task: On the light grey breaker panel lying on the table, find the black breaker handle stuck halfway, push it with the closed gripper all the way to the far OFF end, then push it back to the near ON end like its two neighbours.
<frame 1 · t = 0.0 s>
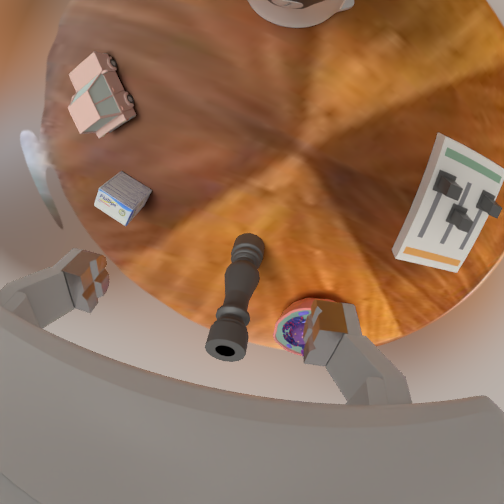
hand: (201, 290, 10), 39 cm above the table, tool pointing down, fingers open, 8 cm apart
breaker 2: (490, 206, 37), point 5 cm above the table, slide at 0.0 cm
breaker panel: (449, 206, 44), on the table
breaker tripped: (461, 220, 40), point 5 cm above the table, slide at 5.0 cm
candle holder: (249, 245, 57), on the table
medicine box: (134, 187, 52), on the table
breaker 1: (449, 187, 37), point 5 cm above the table, slide at 0.0 cm
cell model: (314, 309, 66), on the table
toy car: (111, 90, 40), on the table
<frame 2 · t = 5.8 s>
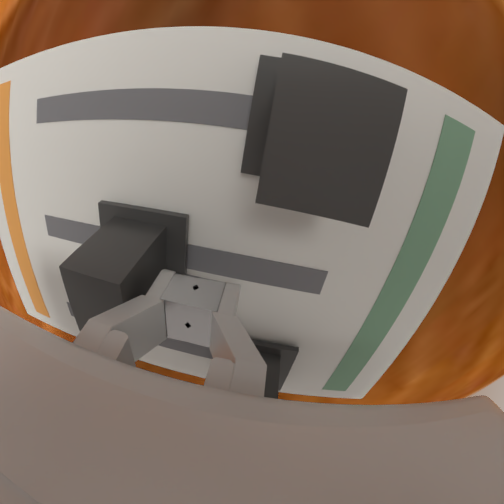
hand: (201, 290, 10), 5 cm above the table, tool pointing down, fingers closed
breaker 2: (248, 393, 13), point 5 cm above the table, slide at 0.0 cm
breaker panel: (182, 220, 14), on the table
breaker tripped: (121, 276, 10), point 5 cm above the table, slide at 5.7 cm, touching gripper
breaker 1: (320, 131, 6), point 5 cm above the table, slide at 0.0 cm
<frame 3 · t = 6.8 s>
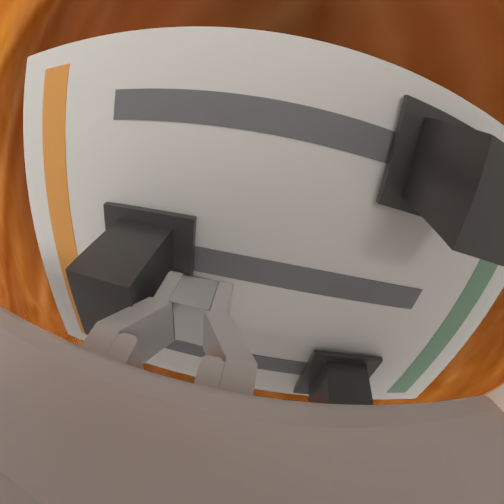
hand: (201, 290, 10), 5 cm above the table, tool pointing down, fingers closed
breaker 2: (338, 404, 13), point 5 cm above the table, slide at 0.0 cm
breaker panel: (275, 238, 14), on the table
breaker tripped: (128, 279, 10), point 5 cm above the table, slide at 10.2 cm, touching gripper
breaker 1: (465, 182, 6), point 5 cm above the table, slide at 0.0 cm
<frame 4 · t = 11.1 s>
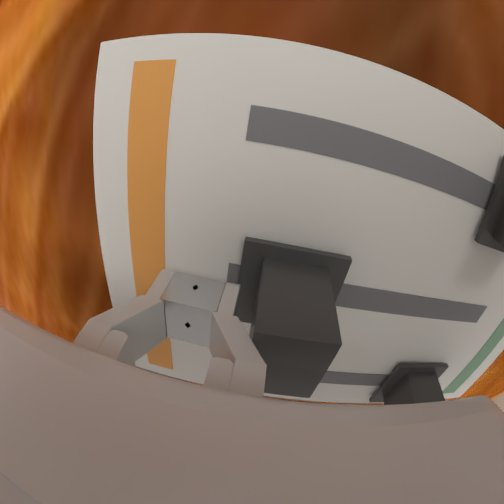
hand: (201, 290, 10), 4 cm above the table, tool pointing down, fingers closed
breaker 2: (415, 408, 12), point 5 cm above the table, slide at 0.0 cm
breaker panel: (370, 264, 14), on the table
breaker tripped: (287, 324, 9), point 5 cm above the table, slide at 9.5 cm, touching gripper
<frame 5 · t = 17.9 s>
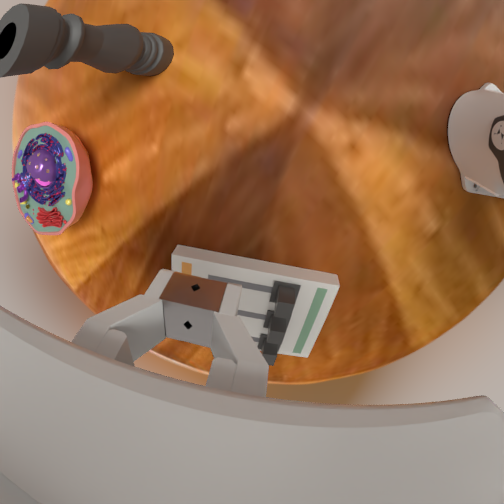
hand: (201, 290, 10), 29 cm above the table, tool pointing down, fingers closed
breaker 2: (269, 351, 47), point 5 cm above the table, slide at 0.0 cm
breaker panel: (249, 302, 48), on the table
breaker tripped: (276, 328, 44), point 5 cm above the table, slide at -0.1 cm
candle holder: (153, 56, 29), on the table
breaker 1: (284, 301, 41), point 5 cm above the table, slide at 0.0 cm
cell model: (72, 167, 39), on the table
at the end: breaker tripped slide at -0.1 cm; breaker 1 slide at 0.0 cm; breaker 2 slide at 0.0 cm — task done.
